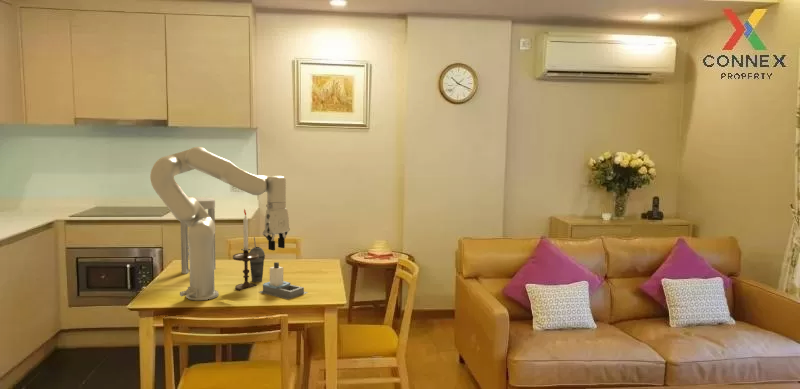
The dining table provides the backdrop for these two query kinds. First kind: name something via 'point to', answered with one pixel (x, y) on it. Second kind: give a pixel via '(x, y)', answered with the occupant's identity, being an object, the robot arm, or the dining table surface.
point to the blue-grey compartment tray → (283, 290)
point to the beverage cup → (257, 264)
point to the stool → (206, 204)
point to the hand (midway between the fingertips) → (276, 248)
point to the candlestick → (245, 257)
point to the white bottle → (276, 275)
